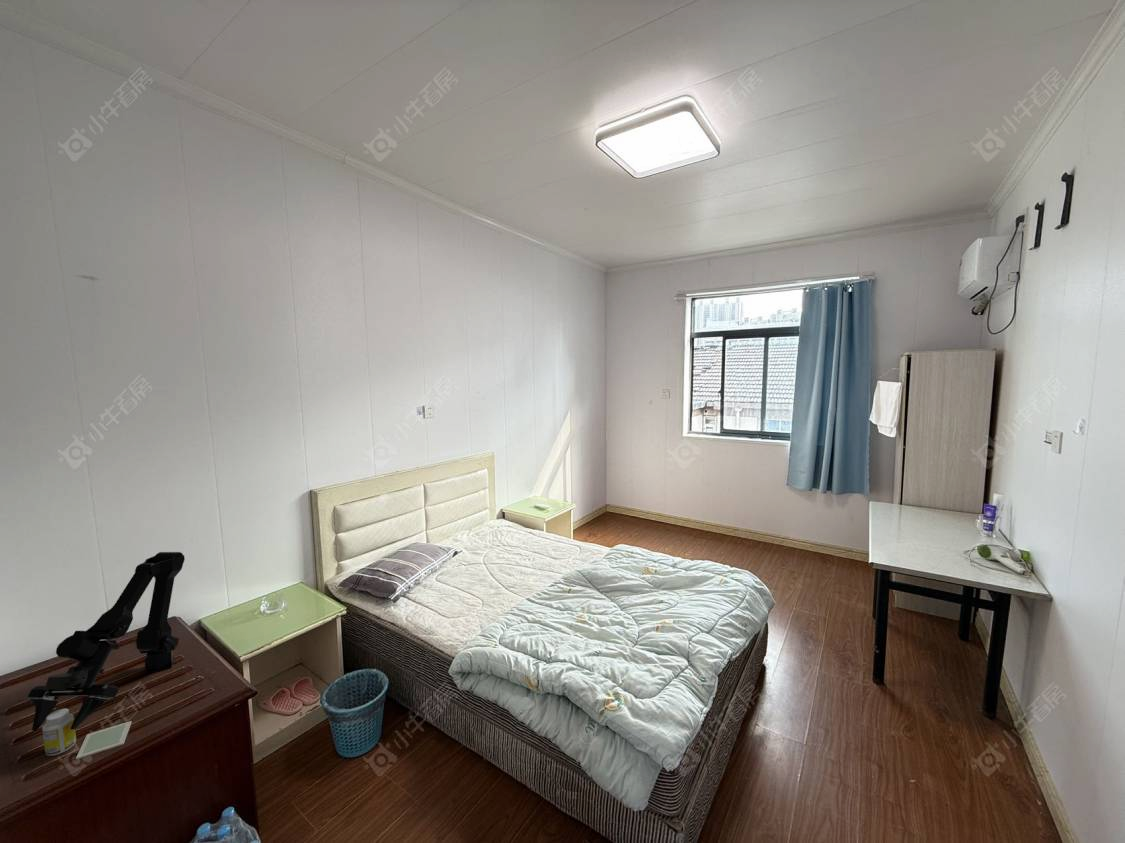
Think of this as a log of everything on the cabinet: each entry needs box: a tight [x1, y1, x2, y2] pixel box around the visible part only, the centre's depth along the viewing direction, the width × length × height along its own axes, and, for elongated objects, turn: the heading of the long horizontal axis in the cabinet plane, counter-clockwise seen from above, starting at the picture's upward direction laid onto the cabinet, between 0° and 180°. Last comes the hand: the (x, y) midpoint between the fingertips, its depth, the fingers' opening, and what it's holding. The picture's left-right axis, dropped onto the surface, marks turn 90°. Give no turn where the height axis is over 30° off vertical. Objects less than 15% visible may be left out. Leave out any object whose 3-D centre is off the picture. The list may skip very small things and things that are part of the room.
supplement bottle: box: [41, 707, 77, 757], centre depth 117 cm, size 6×6×10 cm
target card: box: [75, 720, 132, 760], centre depth 121 cm, size 9×9×1 cm
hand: (53, 730), depth 116 cm, fingers open, 9 cm apart
